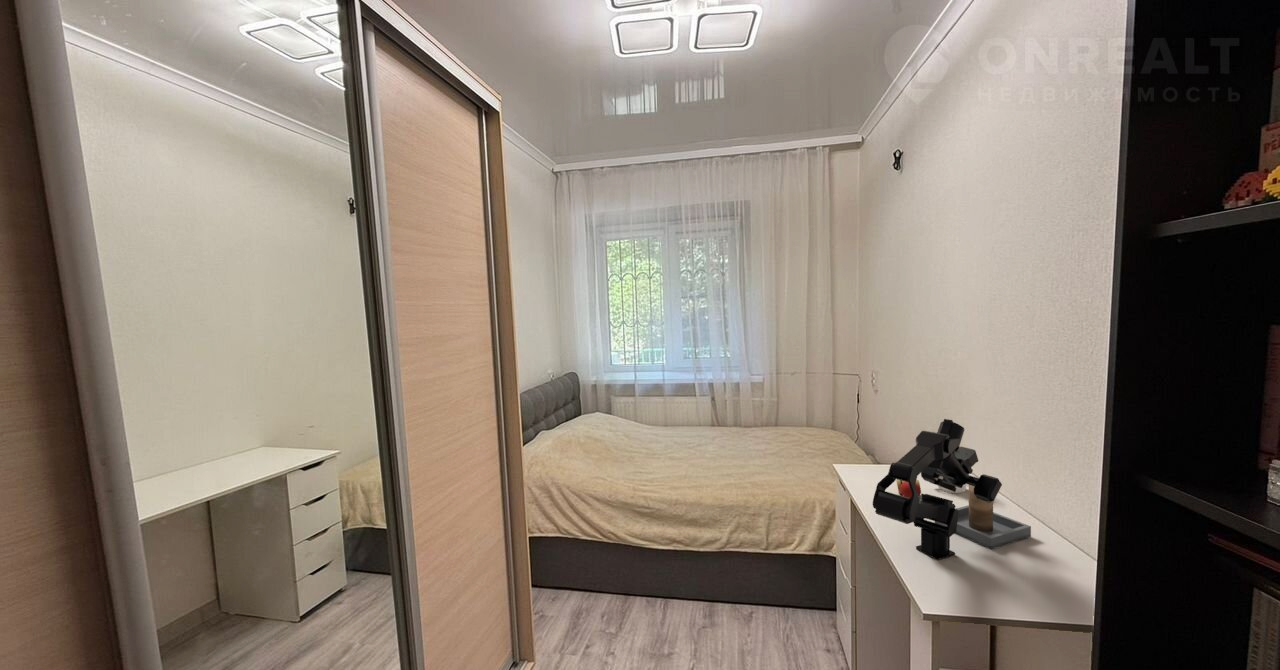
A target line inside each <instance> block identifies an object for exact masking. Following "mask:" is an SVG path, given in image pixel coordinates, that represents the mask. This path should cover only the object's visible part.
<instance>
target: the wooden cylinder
mask: <svg viewBox="0 0 1280 670" xmlns="http://www.w3.org/2000/svg"><path fill="white" fill-rule="evenodd" d="M975 481H976V480H975ZM974 487H975V486H972V485H968V505H969V526H970V527H971V528H972V529H975V530H977V531H981V532H992V531H993V512H994V501H992V502H990V503H987V502H985V501H983V500H980V499H978V498H976V497H977V496H975V495H974Z"/></svg>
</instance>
